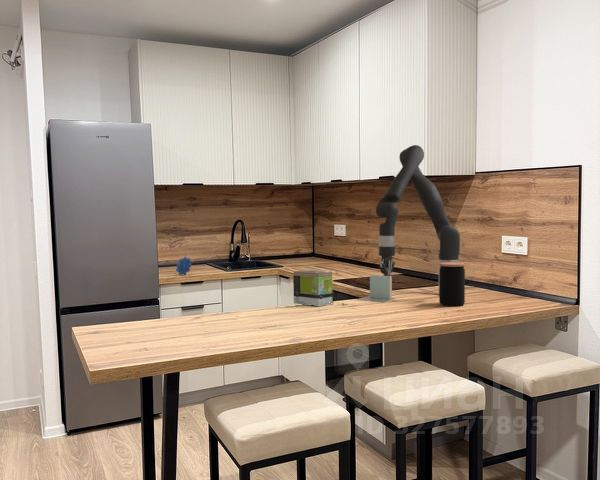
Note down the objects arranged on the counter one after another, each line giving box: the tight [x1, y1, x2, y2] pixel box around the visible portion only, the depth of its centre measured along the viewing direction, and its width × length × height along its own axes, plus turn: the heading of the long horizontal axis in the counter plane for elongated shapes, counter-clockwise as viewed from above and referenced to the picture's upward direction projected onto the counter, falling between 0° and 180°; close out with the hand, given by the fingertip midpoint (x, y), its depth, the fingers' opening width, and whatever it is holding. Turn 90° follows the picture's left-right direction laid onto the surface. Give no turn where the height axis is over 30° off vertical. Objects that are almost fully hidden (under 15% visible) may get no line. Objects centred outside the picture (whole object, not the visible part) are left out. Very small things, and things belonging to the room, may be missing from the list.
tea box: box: [292, 269, 333, 307], centre depth 250 cm, size 15×10×15 cm, turn 47°
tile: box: [369, 274, 393, 299], centre depth 257 cm, size 10×2×10 cm, turn 56°
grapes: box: [175, 256, 193, 275], centre depth 374 cm, size 12×7×12 cm, turn 134°
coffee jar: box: [438, 262, 466, 308], centre depth 244 cm, size 11×11×18 cm
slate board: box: [355, 295, 397, 303], centre depth 253 cm, size 14×14×2 cm
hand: (386, 282), depth 263 cm, fingers closed
